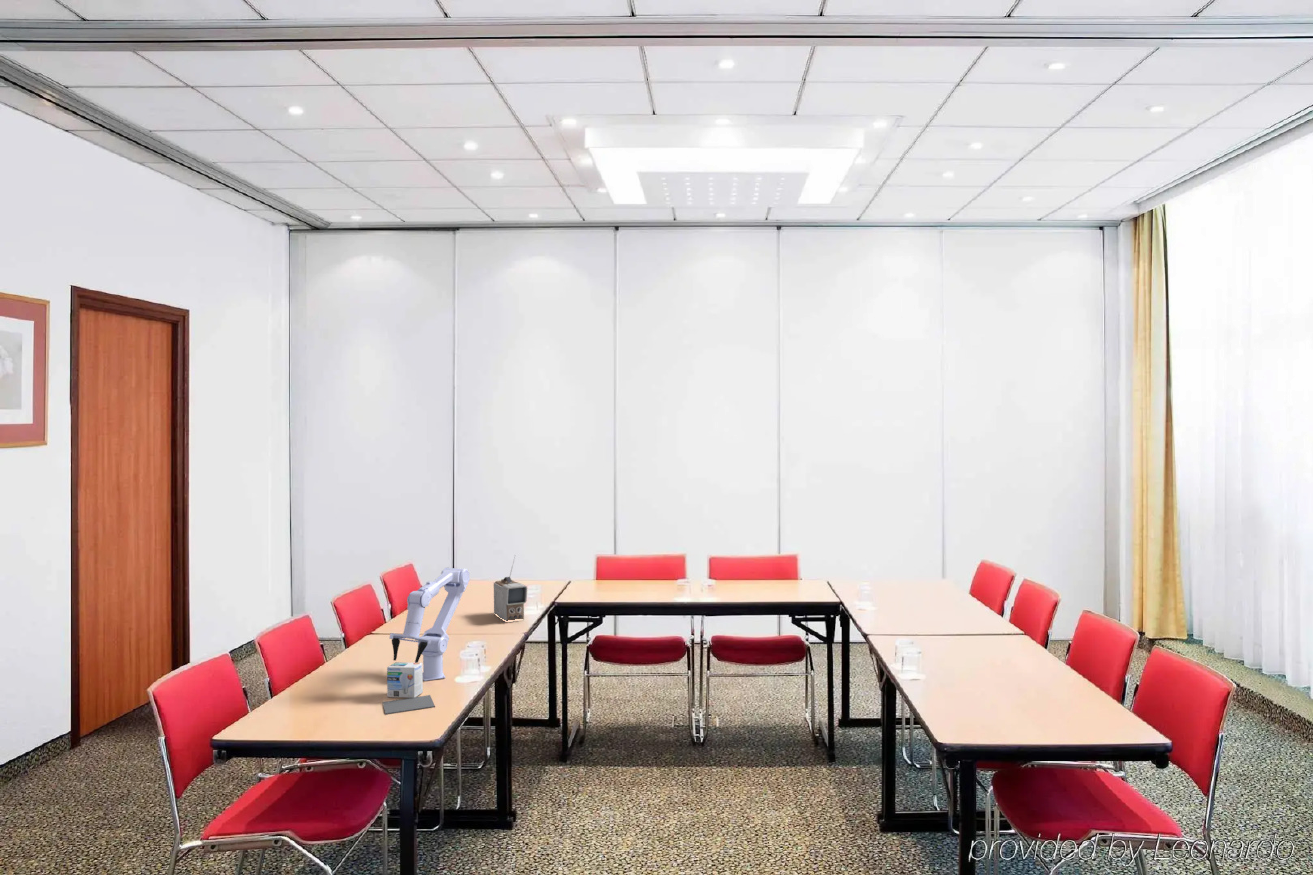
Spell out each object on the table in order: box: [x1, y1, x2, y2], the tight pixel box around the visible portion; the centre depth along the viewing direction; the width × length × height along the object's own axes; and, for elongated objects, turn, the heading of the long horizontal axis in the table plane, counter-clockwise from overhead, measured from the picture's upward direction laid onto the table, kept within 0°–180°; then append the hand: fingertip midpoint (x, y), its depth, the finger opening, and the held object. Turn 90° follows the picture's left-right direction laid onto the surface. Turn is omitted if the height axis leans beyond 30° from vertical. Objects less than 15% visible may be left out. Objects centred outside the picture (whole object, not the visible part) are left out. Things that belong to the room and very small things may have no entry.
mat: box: [382, 694, 436, 715], centre depth 266 cm, size 12×16×1 cm
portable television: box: [493, 554, 528, 621], centre depth 387 cm, size 12×24×30 cm, turn 29°
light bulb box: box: [386, 661, 424, 699], centre depth 276 cm, size 11×7×11 cm, turn 82°
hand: (405, 661), depth 280 cm, fingers open, 7 cm apart
